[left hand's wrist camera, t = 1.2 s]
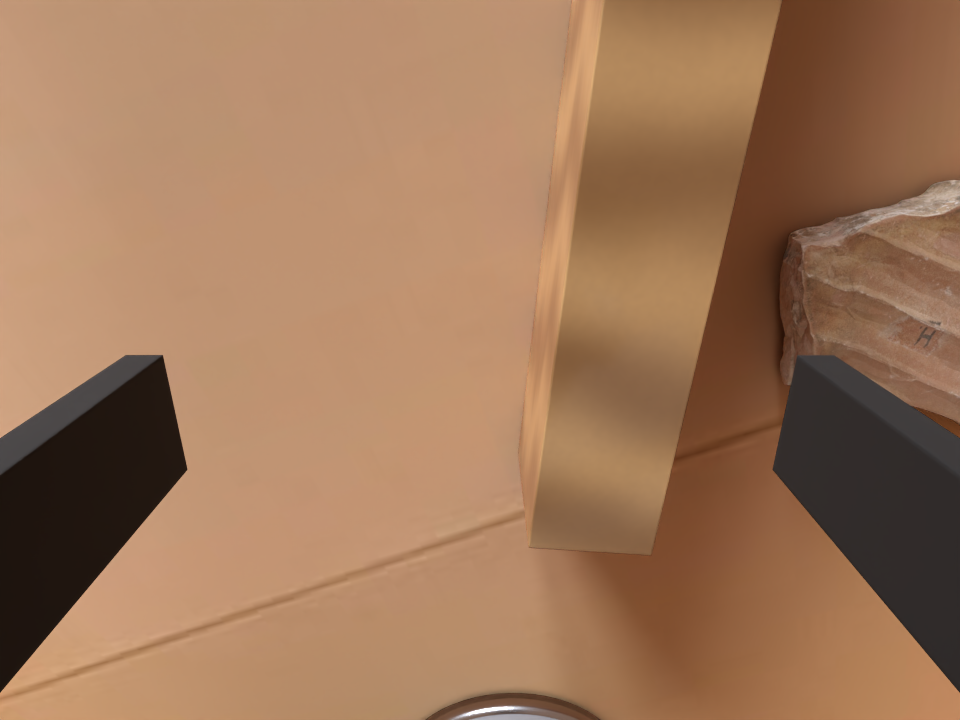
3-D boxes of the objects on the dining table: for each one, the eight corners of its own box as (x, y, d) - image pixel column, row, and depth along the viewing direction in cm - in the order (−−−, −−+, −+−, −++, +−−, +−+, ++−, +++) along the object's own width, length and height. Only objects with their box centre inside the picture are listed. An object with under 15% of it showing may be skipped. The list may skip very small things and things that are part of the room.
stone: (1101, 181, 25) (1165, 188, 23) (991, 430, 30) (1035, 457, 27) (796, 163, 25) (828, 168, 22) (733, 416, 29) (755, 442, 27)
